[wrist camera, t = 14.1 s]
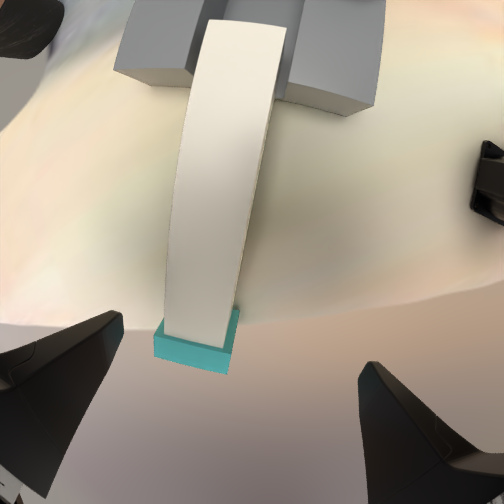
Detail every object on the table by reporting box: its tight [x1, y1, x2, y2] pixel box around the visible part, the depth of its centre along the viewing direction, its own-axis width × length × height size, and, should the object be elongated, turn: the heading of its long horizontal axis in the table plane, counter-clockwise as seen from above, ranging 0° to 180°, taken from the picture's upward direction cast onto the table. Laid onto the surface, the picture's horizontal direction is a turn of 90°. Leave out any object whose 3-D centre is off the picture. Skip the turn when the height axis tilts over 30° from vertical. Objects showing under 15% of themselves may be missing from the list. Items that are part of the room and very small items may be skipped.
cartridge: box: [154, 20, 287, 374], centre depth 16 cm, size 5×21×5 cm, turn 169°
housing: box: [113, 0, 386, 117], centre depth 11 cm, size 14×12×7 cm
